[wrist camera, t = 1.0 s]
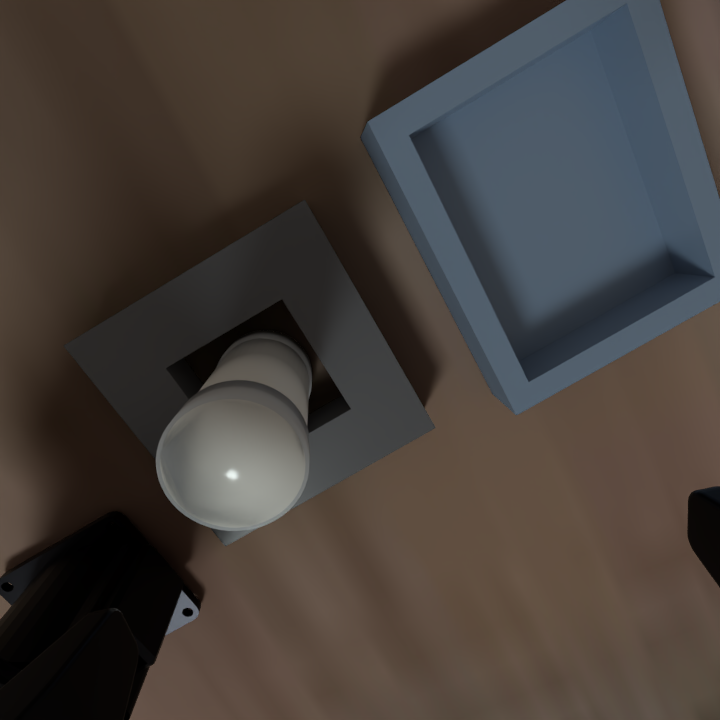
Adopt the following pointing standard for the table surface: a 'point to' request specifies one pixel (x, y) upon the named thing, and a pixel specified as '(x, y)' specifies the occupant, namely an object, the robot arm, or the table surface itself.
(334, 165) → the table surface
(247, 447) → the grey rounded piece
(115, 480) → the table surface
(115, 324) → the grey flat square frame
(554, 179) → the parts tray
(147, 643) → the robot arm
